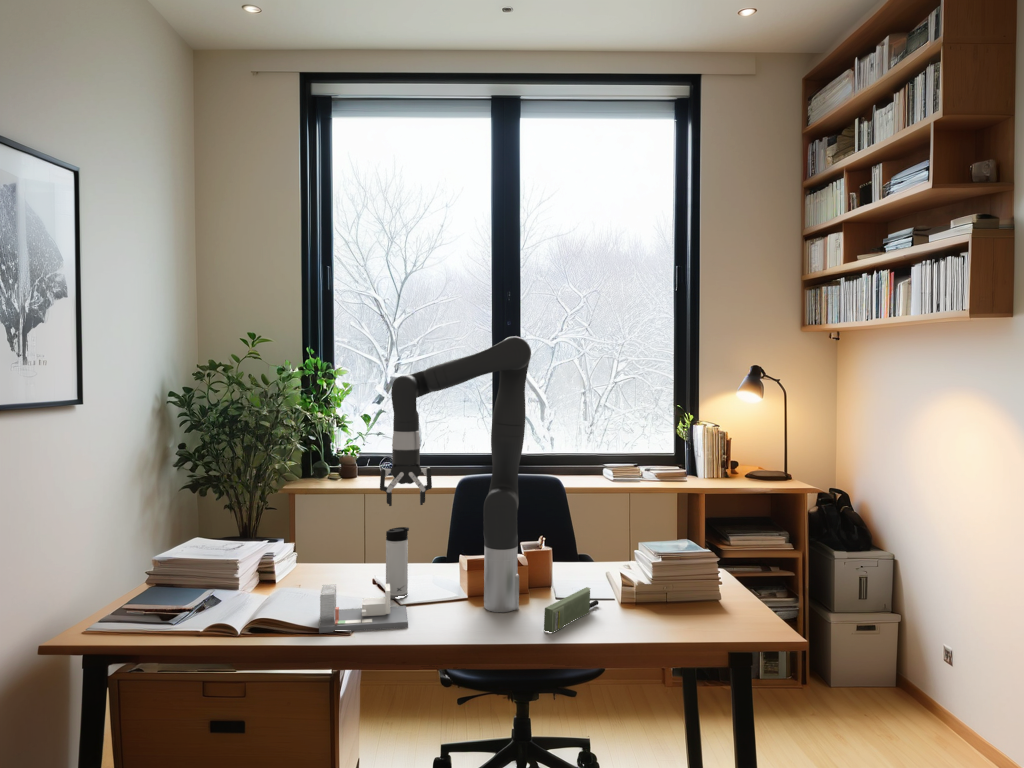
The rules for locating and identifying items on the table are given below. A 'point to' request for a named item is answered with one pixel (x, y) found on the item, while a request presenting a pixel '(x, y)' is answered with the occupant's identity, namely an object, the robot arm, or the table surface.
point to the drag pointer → (336, 615)
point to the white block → (377, 604)
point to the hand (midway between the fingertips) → (405, 505)
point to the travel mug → (397, 561)
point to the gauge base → (366, 620)
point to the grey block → (327, 603)
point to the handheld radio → (568, 610)
